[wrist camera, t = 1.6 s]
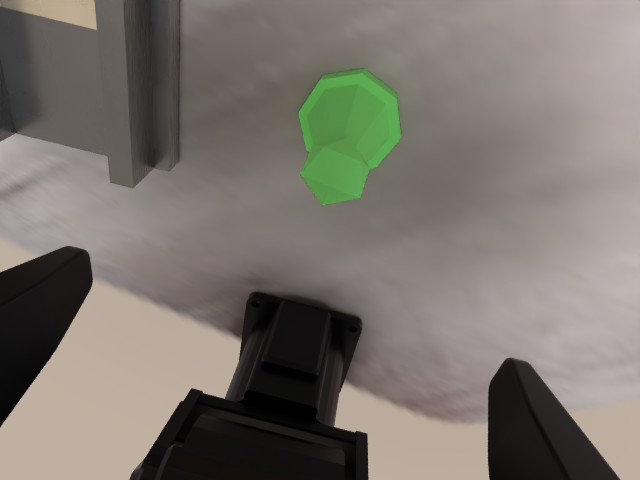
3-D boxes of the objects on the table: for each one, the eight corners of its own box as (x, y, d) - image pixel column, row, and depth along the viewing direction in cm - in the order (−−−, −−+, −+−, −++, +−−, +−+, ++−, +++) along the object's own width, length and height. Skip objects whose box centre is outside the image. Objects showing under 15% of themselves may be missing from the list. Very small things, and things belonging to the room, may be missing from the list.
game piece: (416, 81, 18) (418, 139, 13) (386, 176, 21) (379, 255, 16) (310, 54, 18) (274, 103, 14) (293, 152, 21) (257, 223, 16)
